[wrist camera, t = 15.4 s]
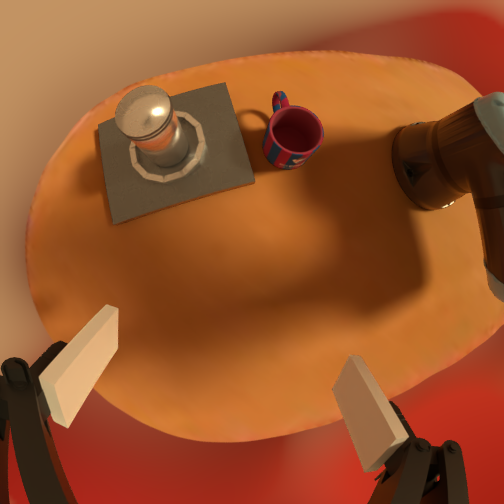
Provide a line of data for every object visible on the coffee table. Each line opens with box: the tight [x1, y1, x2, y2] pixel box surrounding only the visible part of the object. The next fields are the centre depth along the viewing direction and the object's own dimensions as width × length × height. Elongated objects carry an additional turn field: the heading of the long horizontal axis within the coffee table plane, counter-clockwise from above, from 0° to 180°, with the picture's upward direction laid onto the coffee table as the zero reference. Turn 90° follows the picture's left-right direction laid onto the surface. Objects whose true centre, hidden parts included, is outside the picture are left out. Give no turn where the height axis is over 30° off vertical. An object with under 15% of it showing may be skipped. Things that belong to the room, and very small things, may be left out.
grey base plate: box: [98, 82, 255, 225], centre depth 34 cm, size 20×16×3 cm
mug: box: [263, 91, 324, 170], centre depth 33 cm, size 7×10×7 cm
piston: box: [115, 85, 188, 167], centre depth 28 cm, size 6×6×12 cm
